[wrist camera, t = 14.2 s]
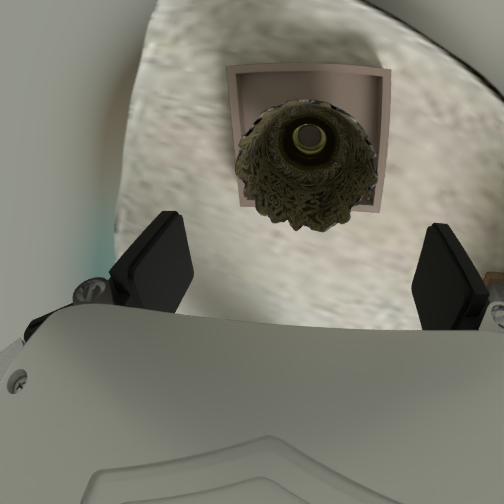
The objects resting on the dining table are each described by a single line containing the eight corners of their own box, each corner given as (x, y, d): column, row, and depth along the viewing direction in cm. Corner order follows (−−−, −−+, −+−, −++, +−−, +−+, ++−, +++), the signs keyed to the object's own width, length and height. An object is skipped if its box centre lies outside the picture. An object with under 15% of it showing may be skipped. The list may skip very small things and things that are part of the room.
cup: (313, 198, 24) (310, 256, 18) (241, 140, 22) (208, 178, 16) (377, 135, 20) (406, 172, 13) (303, 69, 18) (297, 69, 12)
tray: (246, 193, 26) (240, 206, 24) (235, 65, 20) (226, 66, 18) (374, 198, 24) (379, 212, 22) (383, 68, 17) (391, 69, 15)
